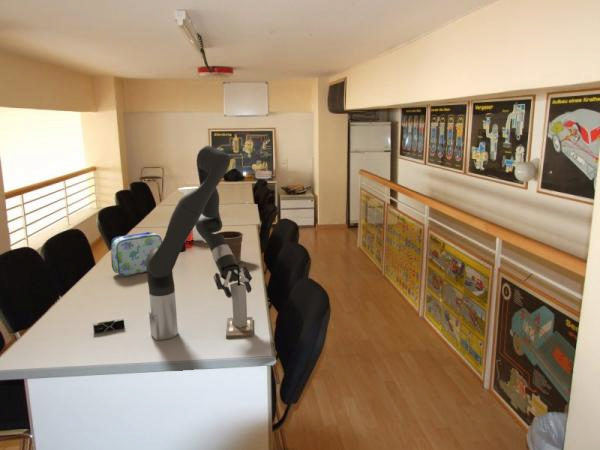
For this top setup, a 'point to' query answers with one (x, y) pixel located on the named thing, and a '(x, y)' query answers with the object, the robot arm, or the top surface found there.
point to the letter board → (239, 329)
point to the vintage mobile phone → (239, 303)
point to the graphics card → (108, 326)
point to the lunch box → (133, 252)
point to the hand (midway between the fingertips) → (240, 294)
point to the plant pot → (234, 243)
